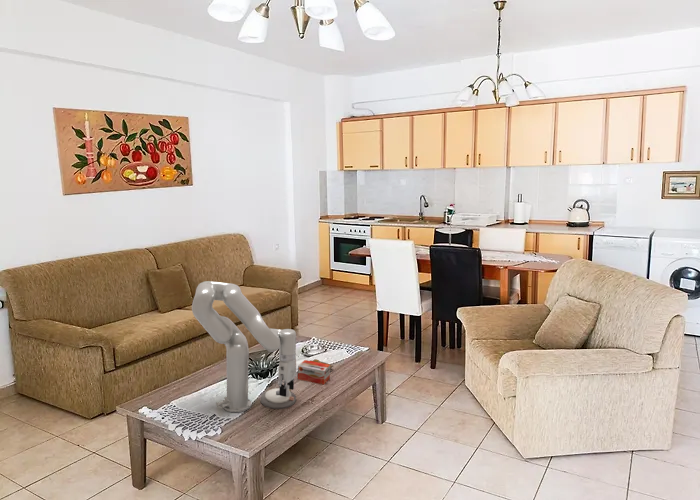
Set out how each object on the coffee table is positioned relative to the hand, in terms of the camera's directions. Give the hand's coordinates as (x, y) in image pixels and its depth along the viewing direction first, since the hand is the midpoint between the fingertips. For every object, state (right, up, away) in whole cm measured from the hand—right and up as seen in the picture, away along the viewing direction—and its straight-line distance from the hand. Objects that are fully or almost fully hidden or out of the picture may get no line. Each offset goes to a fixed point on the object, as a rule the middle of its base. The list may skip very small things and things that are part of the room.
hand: (286, 392), depth 239 cm
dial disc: (-3, -3, +2) cm, 5 cm away
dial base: (-4, -5, +2) cm, 7 cm away
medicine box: (+11, -1, +27) cm, 29 cm away
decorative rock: (+12, +1, +39) cm, 41 cm away
